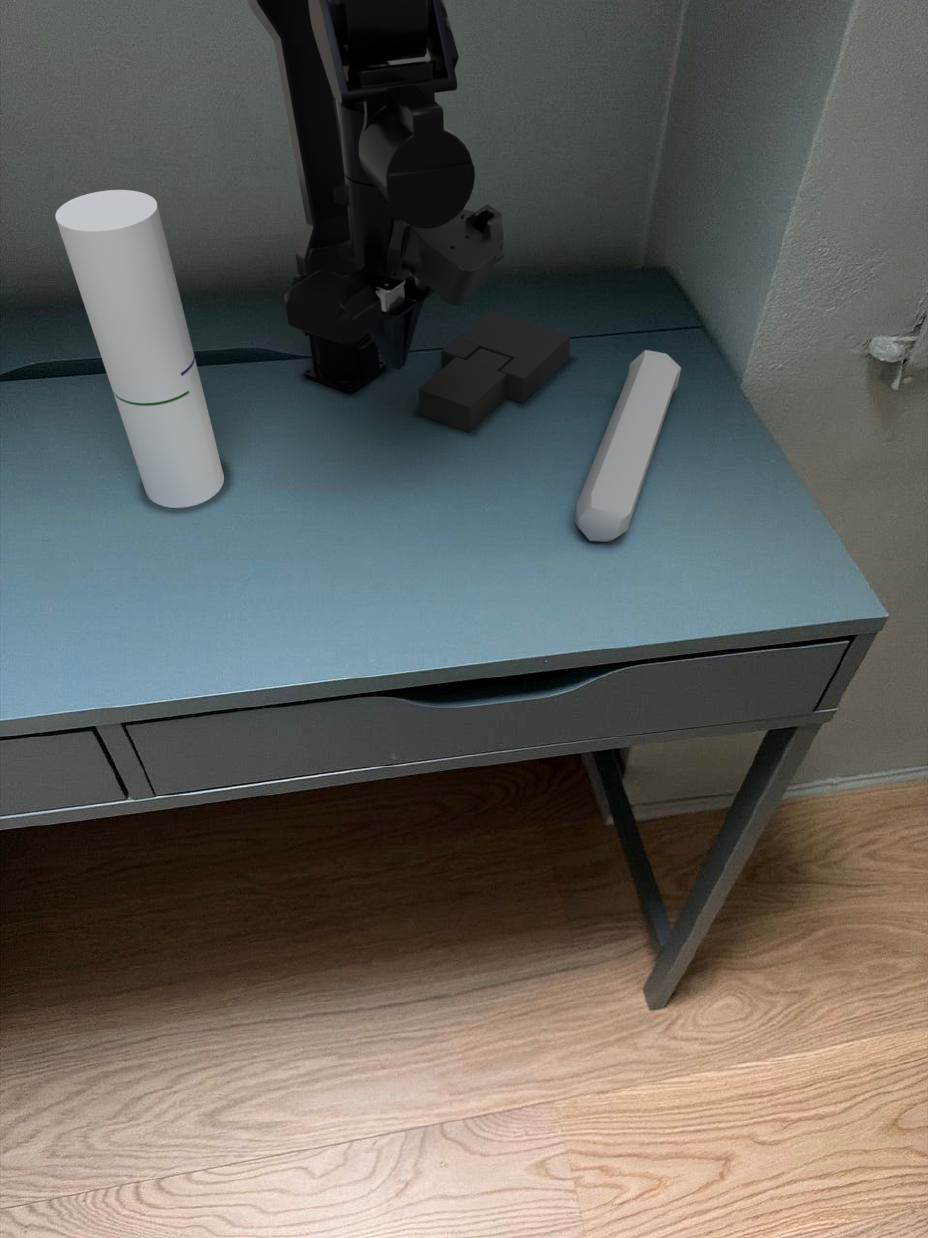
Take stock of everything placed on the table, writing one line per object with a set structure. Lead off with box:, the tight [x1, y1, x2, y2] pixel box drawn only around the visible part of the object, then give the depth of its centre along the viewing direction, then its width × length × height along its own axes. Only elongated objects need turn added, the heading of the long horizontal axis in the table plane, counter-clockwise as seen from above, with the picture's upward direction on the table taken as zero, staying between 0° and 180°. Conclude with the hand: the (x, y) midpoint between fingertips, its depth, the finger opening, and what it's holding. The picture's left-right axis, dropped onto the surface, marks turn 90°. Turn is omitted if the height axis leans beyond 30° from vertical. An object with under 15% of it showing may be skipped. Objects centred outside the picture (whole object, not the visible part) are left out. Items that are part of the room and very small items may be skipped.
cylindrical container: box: [54, 189, 225, 509], centre depth 74 cm, size 7×7×25 cm
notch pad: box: [440, 310, 572, 405], centre depth 96 cm, size 10×10×3 cm
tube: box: [574, 349, 682, 542], centre depth 84 cm, size 5×5×25 cm
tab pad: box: [417, 348, 510, 433], centre depth 92 cm, size 6×10×3 cm, turn 148°
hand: (397, 366), depth 75 cm, fingers closed
